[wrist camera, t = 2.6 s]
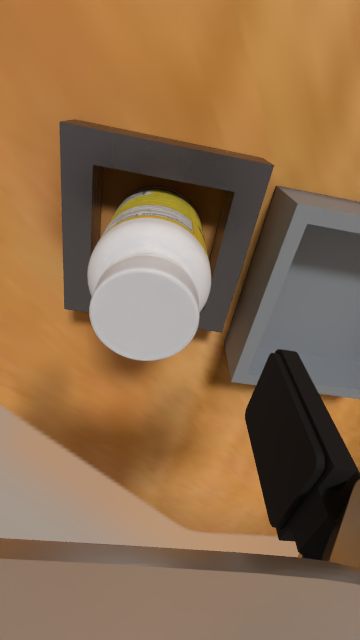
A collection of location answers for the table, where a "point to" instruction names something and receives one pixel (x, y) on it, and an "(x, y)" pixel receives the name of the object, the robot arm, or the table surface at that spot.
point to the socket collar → (164, 162)
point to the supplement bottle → (149, 276)
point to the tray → (302, 293)
